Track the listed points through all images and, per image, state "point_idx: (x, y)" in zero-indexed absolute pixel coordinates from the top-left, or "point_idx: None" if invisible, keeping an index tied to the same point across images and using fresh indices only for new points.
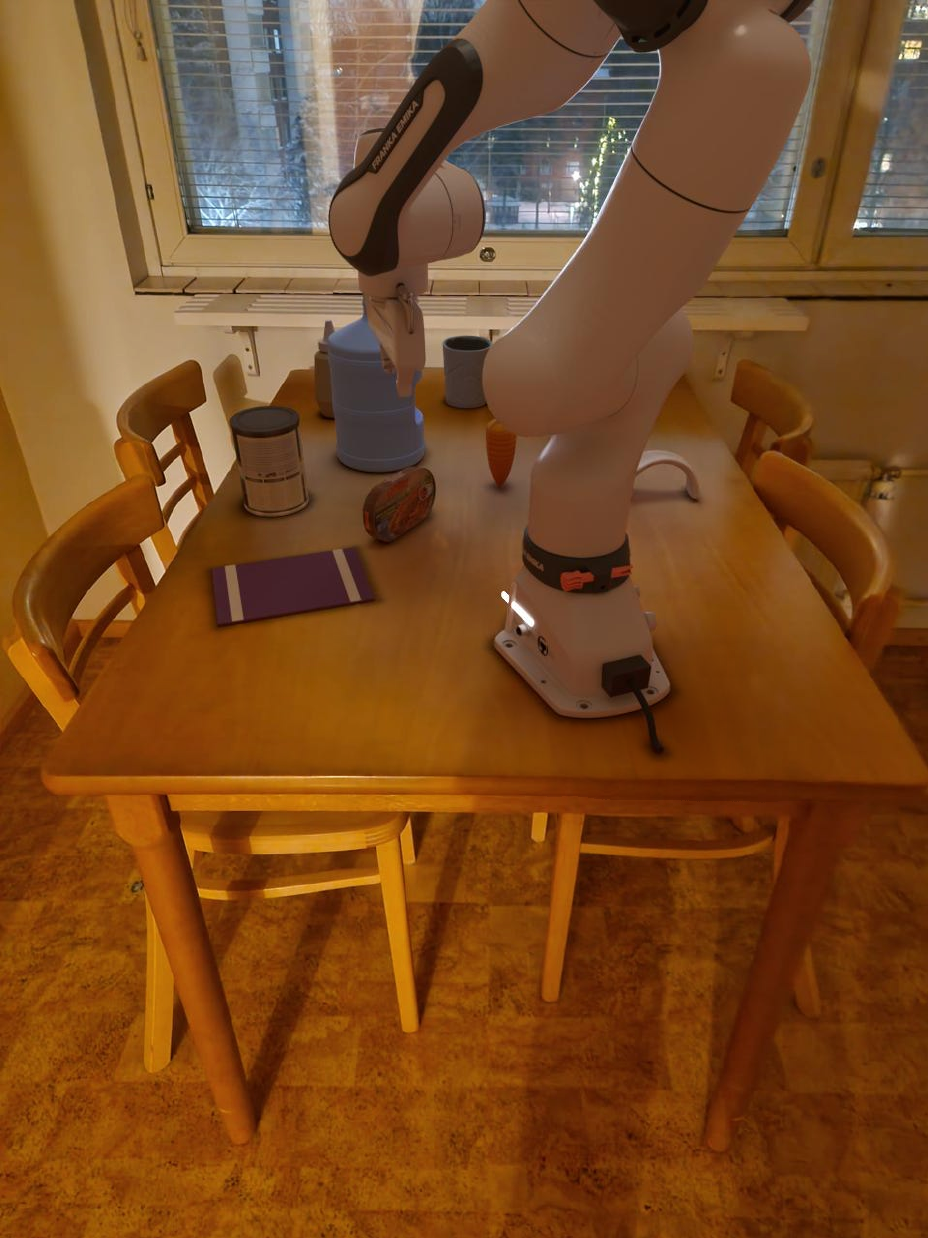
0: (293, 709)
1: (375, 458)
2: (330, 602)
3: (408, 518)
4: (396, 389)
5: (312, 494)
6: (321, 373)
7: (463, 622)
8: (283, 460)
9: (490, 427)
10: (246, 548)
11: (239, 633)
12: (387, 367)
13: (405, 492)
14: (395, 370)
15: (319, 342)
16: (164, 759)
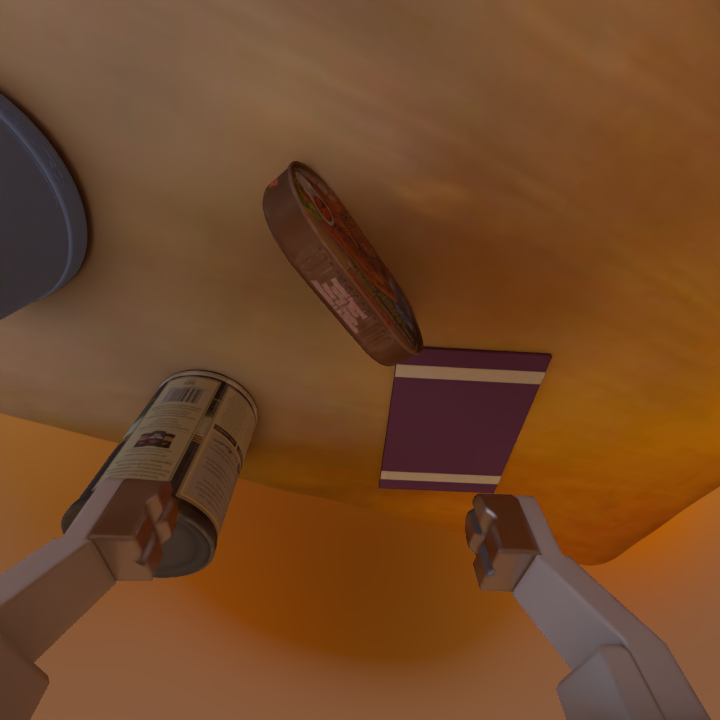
0: (669, 458)
1: (66, 243)
2: (525, 403)
3: (360, 247)
4: (468, 543)
5: (185, 361)
6: None
7: (696, 255)
8: (226, 472)
9: None
10: (338, 454)
11: (516, 477)
12: (160, 531)
13: (356, 271)
14: (165, 488)
15: None
16: (643, 527)
